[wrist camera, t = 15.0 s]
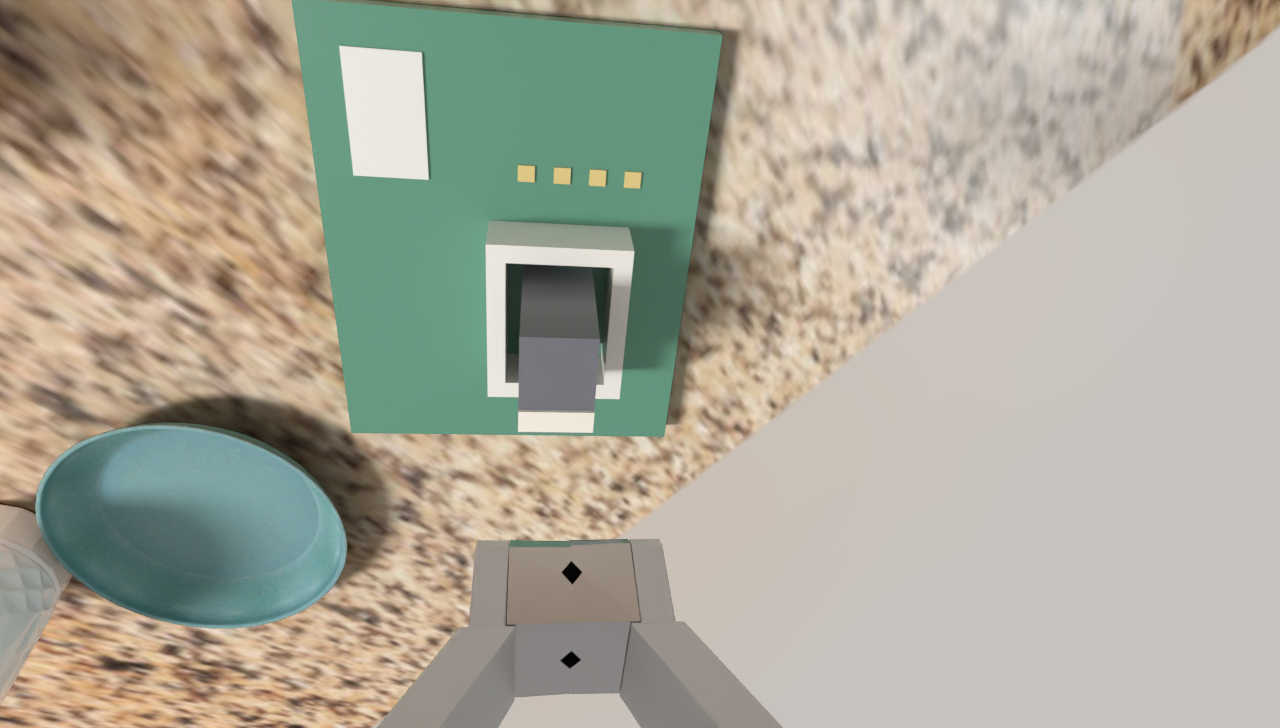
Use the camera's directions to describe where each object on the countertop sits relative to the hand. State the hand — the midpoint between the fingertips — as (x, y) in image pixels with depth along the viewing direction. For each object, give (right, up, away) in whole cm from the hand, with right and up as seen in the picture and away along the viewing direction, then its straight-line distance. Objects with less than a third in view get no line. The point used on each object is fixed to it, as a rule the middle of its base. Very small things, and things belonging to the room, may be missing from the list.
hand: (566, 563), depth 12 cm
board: (-5, +9, +22) cm, 24 cm away
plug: (-3, +6, +23) cm, 24 cm away
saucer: (-22, -4, +29) cm, 37 cm away
